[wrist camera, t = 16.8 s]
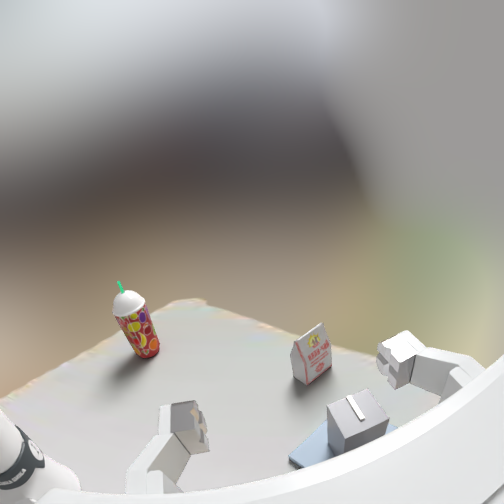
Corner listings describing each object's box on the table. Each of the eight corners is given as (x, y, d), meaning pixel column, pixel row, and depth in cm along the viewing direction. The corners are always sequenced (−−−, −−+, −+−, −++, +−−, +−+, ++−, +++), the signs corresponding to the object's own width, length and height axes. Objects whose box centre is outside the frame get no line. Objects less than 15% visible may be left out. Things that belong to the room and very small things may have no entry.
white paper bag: (293, 376, 51) (287, 337, 48) (318, 358, 55) (314, 318, 51) (306, 385, 48) (301, 346, 45) (331, 365, 52) (329, 325, 48)
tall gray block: (379, 454, 30) (389, 416, 26) (341, 470, 29) (345, 437, 26) (362, 427, 35) (368, 386, 32) (327, 441, 35) (326, 403, 31)
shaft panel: (363, 504, 24) (371, 488, 21) (289, 458, 34) (283, 435, 32) (413, 438, 31) (424, 411, 29) (342, 406, 42) (343, 378, 39)
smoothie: (133, 347, 69) (103, 280, 62) (162, 337, 71) (135, 269, 64) (135, 365, 62) (100, 294, 54) (166, 355, 64) (135, 282, 57)
